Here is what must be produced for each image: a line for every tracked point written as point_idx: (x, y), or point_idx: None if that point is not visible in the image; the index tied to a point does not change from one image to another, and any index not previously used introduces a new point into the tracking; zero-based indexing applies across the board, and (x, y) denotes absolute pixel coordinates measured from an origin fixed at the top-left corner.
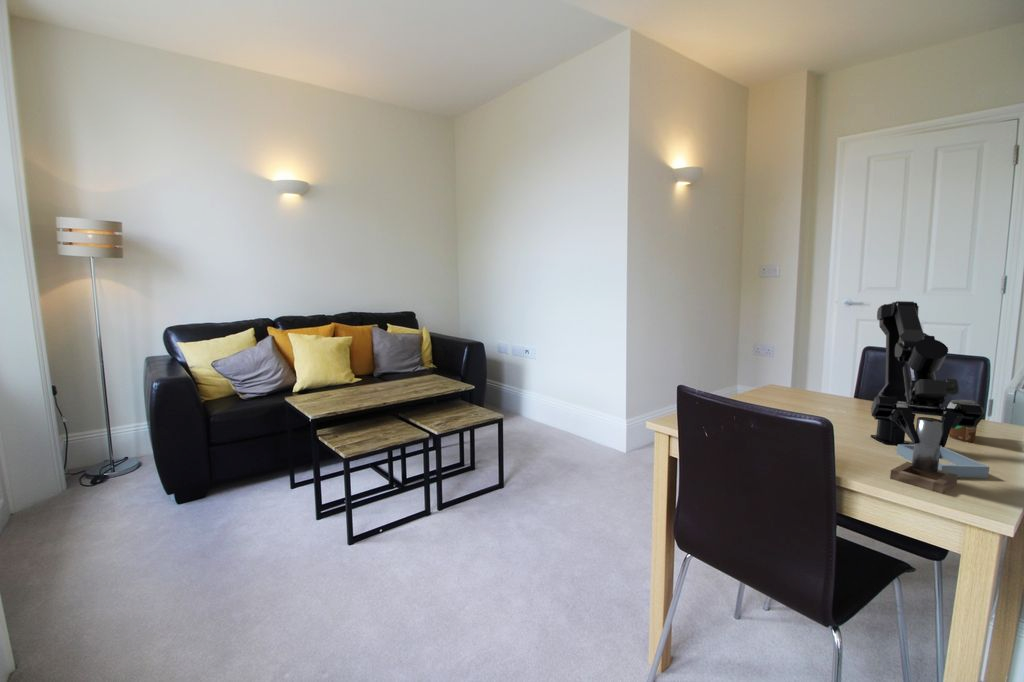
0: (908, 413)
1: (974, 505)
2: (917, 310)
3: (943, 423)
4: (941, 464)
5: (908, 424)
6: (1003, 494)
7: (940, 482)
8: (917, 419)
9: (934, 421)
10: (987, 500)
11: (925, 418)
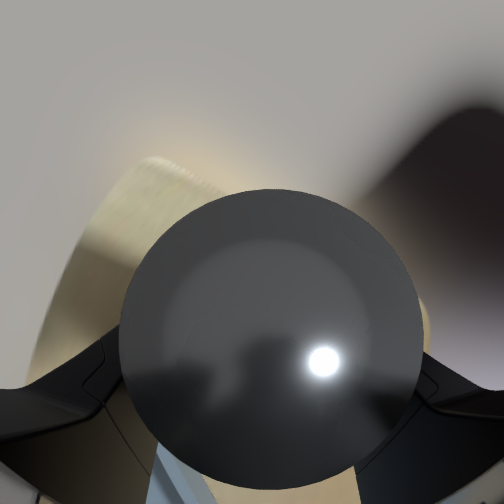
0: (499, 403)
1: (153, 236)
2: None
3: (147, 261)
4: (159, 444)
5: (426, 356)
6: (51, 353)
7: None
8: (417, 336)
9: (249, 276)
10: (103, 290)
11: (328, 411)
